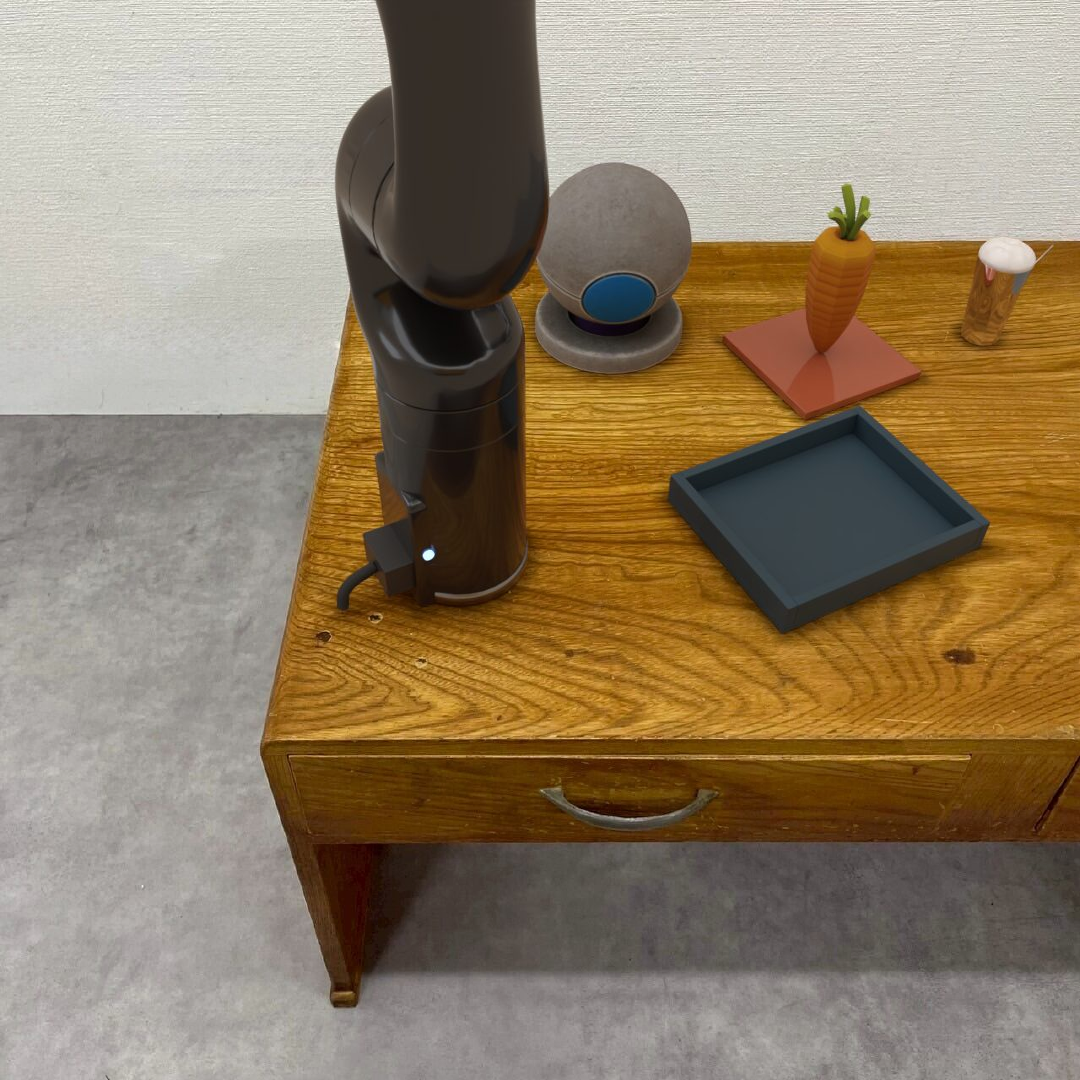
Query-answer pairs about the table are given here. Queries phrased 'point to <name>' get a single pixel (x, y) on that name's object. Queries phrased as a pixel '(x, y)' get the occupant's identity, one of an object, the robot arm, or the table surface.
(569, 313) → the webcam
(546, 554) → the table surface
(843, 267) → the carrot
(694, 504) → the tray
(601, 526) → the table surface
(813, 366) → the tile
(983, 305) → the milkshake
